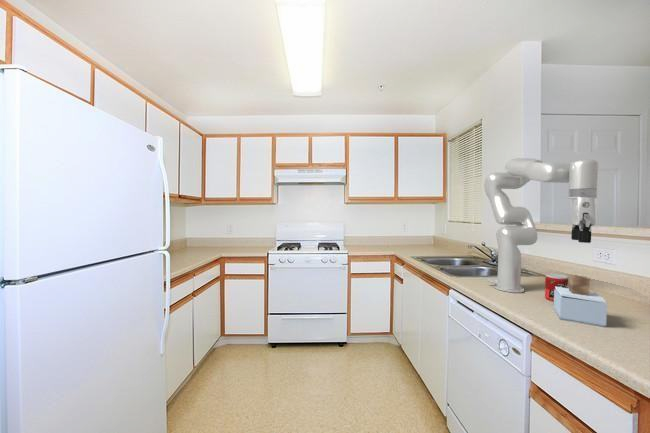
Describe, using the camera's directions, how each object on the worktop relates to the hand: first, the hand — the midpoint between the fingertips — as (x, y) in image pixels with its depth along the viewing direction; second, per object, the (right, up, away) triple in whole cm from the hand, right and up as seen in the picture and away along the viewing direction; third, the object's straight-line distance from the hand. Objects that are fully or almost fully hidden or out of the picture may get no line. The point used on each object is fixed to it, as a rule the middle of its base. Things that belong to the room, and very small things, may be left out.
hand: (580, 241), depth 99 cm
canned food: (+8, -28, +20) cm, 36 cm away
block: (0, -19, +1) cm, 19 cm away
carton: (0, -28, +1) cm, 28 cm away
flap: (0, -20, +1) cm, 20 cm away
